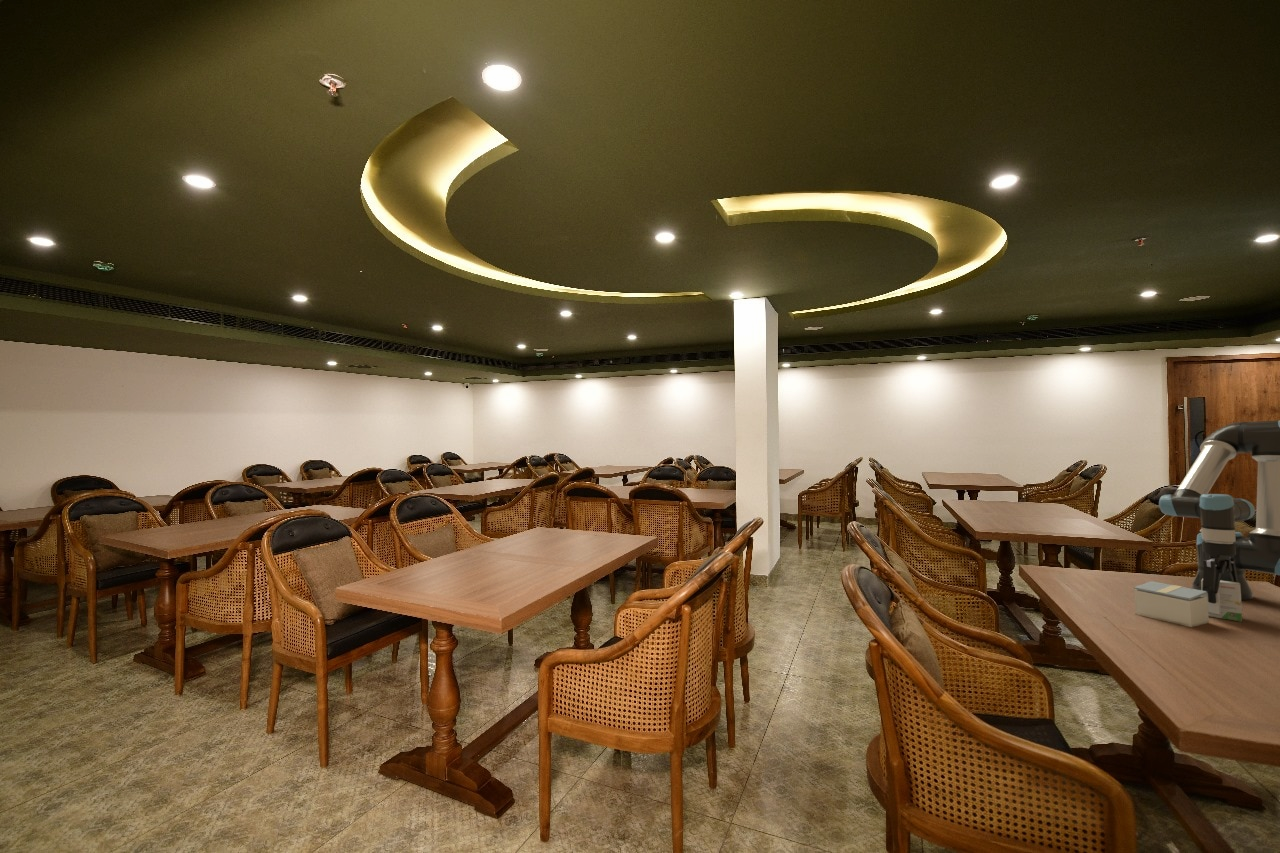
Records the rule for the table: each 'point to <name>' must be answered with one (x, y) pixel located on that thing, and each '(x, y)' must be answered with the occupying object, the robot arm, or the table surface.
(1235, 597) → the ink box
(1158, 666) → the table surface
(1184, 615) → the carton
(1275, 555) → the robot arm
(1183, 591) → the lid
